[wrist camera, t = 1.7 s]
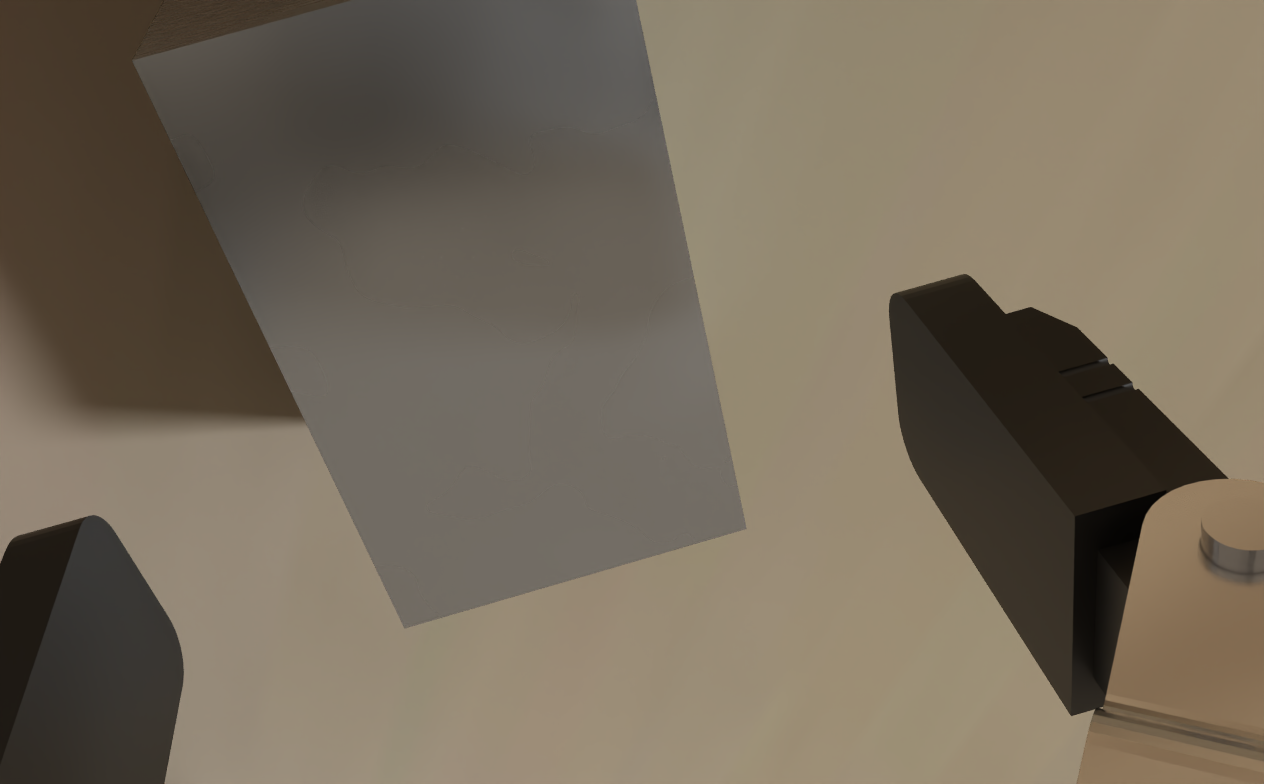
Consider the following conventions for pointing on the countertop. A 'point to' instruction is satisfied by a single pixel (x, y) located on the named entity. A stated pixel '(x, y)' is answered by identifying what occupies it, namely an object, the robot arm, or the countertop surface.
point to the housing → (461, 275)
